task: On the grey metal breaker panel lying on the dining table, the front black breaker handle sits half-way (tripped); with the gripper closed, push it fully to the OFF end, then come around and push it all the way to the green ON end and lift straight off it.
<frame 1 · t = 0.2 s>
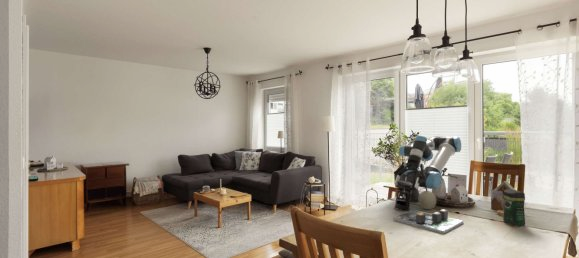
hand: (405, 186, 188), 16 cm above the table, tool tilted 35°, fingers open, 13 cm apart
breaker front: (420, 217, 163), point 4 cm above the table, slide at 5.0 cm
panel: (427, 221, 168), on the table
fruit: (426, 208, 194), on the table
french press: (402, 208, 193), on the table
coffee jar: (514, 224, 163), on the table
breaker middle: (436, 216, 164), point 4 cm above the table, slide at 10.0 cm
breaker back: (443, 213, 169), point 4 cm above the table, slide at 10.0 cm
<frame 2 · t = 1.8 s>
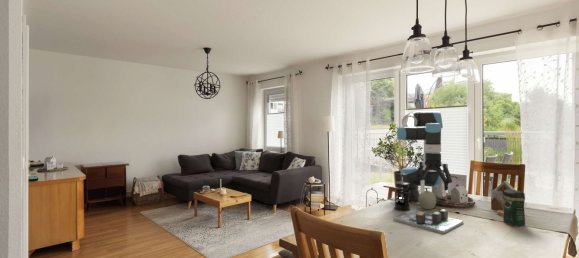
hand: (433, 194, 157), 18 cm above the table, tool pointing down, fingers open, 11 cm apart
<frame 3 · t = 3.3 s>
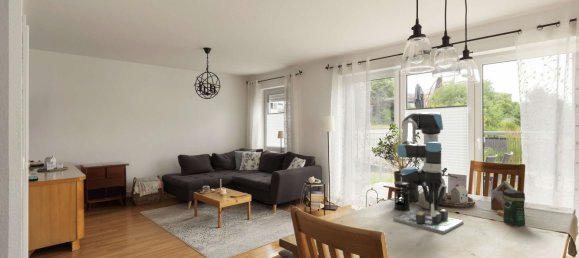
hand: (433, 216, 157), 7 cm above the table, tool pointing down, fingers closed
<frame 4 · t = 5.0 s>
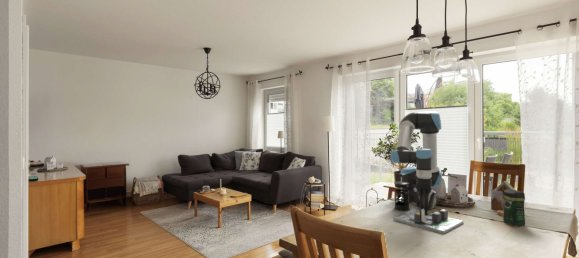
hand: (424, 220, 162), 3 cm above the table, tool pointing down, fingers closed
breaker front: (419, 217, 164), point 4 cm above the table, slide at 4.1 cm, touching gripper
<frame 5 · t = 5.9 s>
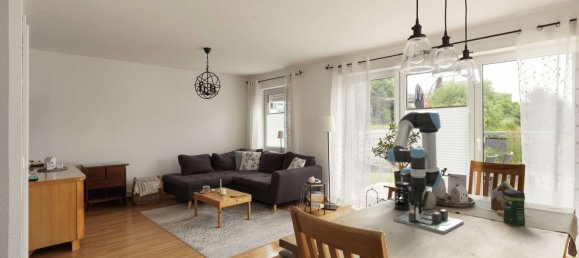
hand: (418, 219, 164), 3 cm above the table, tool pointing down, fingers closed
breaker front: (413, 215, 166), point 4 cm above the table, slide at 0.9 cm, touching gripper
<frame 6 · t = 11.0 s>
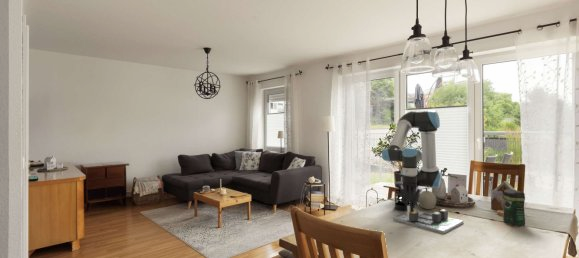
hand: (409, 217, 168), 3 cm above the table, tool pointing down, fingers closed
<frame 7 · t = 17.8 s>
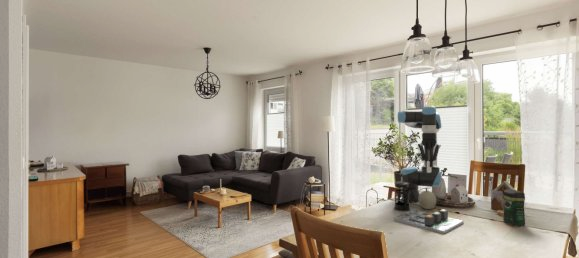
hand: (429, 172, 177), 26 cm above the table, tool pointing down, fingers closed
breaker front: (429, 219, 159), point 4 cm above the table, slide at 9.7 cm
at the end: breaker front slide at 9.7 cm; breaker middle slide at 10.0 cm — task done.
